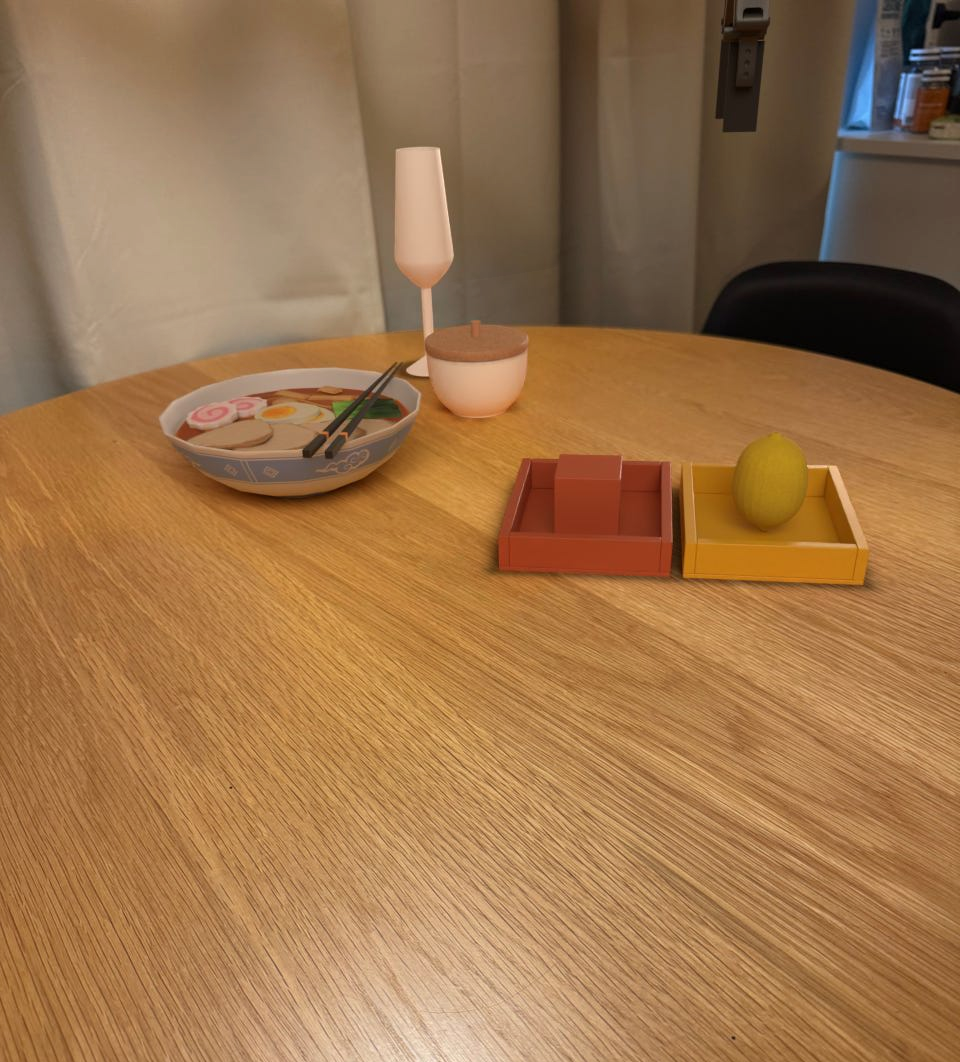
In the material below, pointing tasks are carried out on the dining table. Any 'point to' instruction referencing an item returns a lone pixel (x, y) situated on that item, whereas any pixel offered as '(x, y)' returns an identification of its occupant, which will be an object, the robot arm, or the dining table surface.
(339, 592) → the dining table surface
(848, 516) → the yellow tray
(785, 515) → the lemon
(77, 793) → the dining table surface
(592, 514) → the block
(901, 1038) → the dining table surface
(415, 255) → the champagne flute
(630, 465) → the terracotta tray
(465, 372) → the lidded sugar bowl
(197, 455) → the ramen bowl
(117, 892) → the dining table surface
